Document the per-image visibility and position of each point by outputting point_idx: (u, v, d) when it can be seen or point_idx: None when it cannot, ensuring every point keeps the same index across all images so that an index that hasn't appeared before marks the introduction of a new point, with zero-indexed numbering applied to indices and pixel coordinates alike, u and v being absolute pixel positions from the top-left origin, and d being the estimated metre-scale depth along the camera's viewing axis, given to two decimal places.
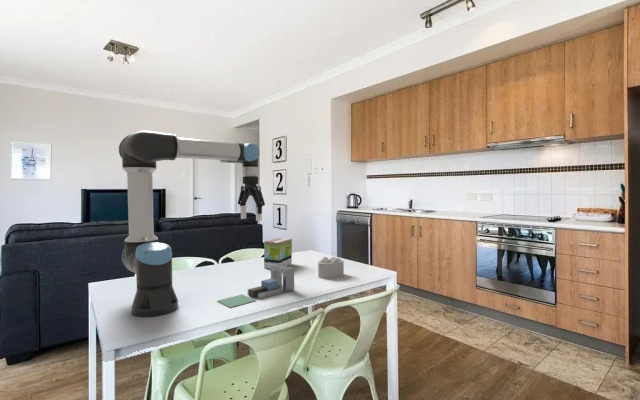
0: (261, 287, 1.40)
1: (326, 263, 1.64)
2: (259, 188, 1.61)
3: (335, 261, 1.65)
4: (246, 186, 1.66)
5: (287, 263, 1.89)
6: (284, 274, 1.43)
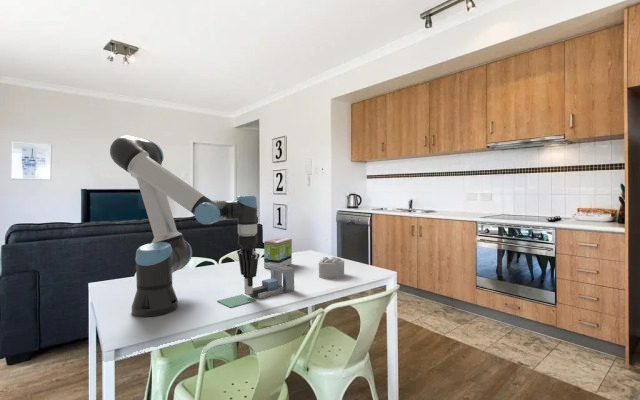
0: (262, 287, 1.40)
1: (327, 263, 1.64)
2: (257, 257, 1.31)
3: (336, 261, 1.65)
4: None
5: (287, 263, 1.89)
6: (284, 274, 1.43)
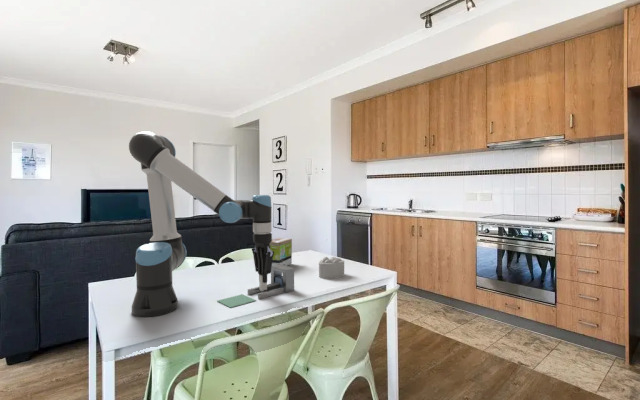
0: (275, 283, 1.45)
1: (327, 263, 1.64)
2: (272, 254, 1.36)
3: (336, 261, 1.65)
4: (256, 243, 1.41)
5: (287, 263, 1.89)
6: (284, 274, 1.43)
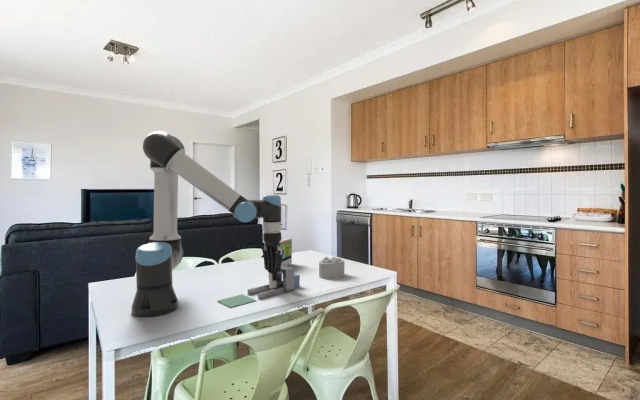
0: None
1: (327, 263, 1.64)
2: (282, 253, 1.39)
3: (336, 261, 1.65)
4: (266, 242, 1.44)
5: (287, 263, 1.89)
6: (284, 274, 1.43)
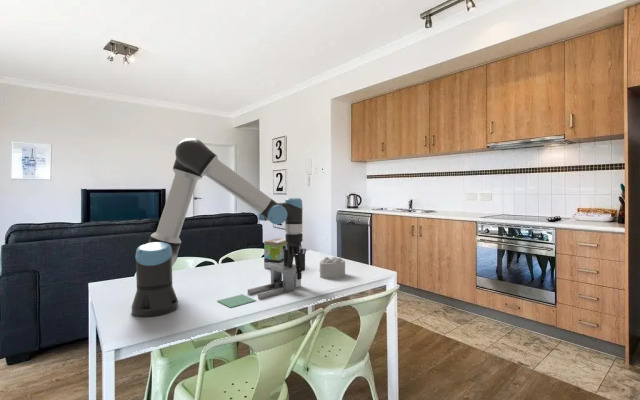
0: None
1: (328, 263, 1.64)
2: (304, 252, 1.47)
3: (337, 261, 1.65)
4: (288, 243, 1.52)
5: None
6: (284, 274, 1.43)
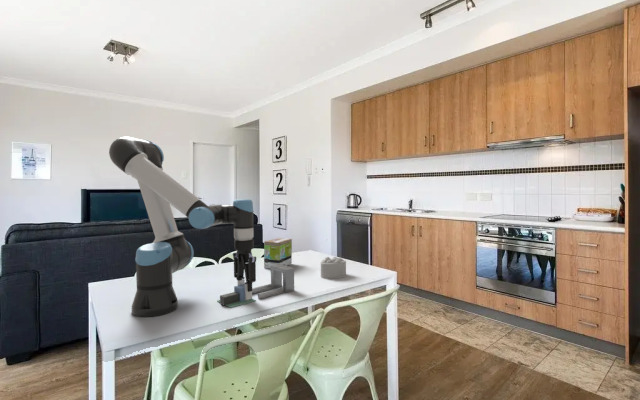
0: (233, 293, 1.31)
1: (329, 263, 1.64)
2: (254, 260, 1.30)
3: (338, 261, 1.65)
4: (238, 250, 1.35)
5: (287, 263, 1.89)
6: (284, 274, 1.43)
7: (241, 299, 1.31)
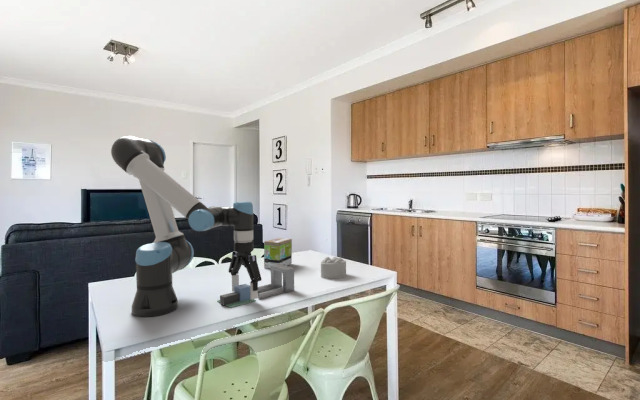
0: (233, 293, 1.31)
1: (329, 263, 1.64)
2: (255, 258, 1.29)
3: (338, 261, 1.65)
4: (238, 253, 1.34)
5: (287, 263, 1.89)
6: (284, 274, 1.43)
7: (241, 299, 1.31)
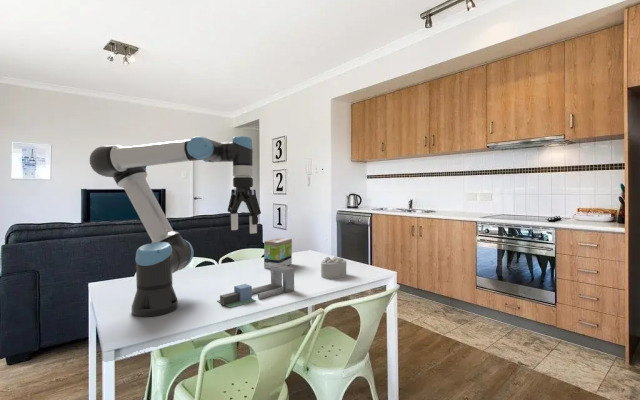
0: (233, 293, 1.31)
1: (330, 263, 1.64)
2: (254, 192, 1.28)
3: (338, 261, 1.65)
4: (238, 190, 1.33)
5: (287, 263, 1.89)
6: (284, 274, 1.43)
7: (241, 299, 1.31)
